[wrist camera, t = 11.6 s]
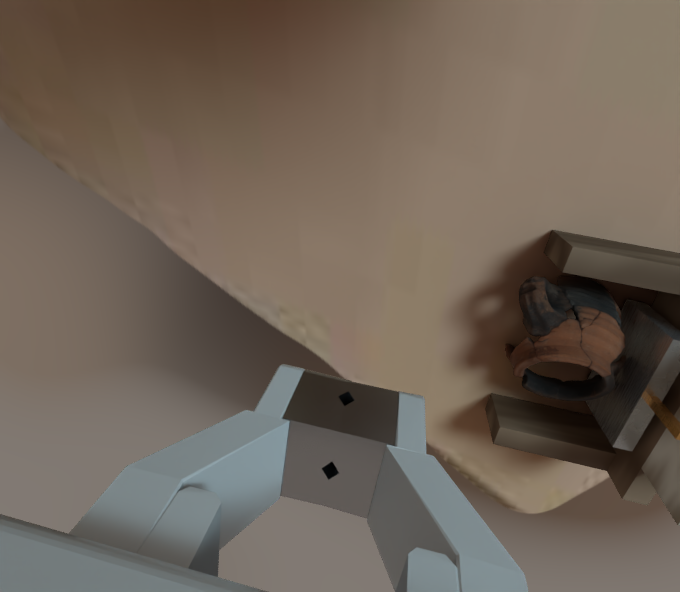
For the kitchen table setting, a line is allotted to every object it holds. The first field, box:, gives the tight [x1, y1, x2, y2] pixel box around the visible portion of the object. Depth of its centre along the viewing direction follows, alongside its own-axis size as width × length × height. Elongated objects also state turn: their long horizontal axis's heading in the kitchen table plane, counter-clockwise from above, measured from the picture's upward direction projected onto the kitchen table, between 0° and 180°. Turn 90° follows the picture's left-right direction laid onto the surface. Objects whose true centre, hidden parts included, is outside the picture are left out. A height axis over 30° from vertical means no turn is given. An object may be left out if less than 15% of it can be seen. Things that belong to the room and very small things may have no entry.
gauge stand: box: [485, 230, 680, 525], centre depth 32 cm, size 19×12×13 cm, turn 171°
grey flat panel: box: [585, 300, 680, 451], centre depth 32 cm, size 10×2×11 cm, turn 171°
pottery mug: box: [505, 276, 626, 401], centre depth 35 cm, size 12×10×8 cm
